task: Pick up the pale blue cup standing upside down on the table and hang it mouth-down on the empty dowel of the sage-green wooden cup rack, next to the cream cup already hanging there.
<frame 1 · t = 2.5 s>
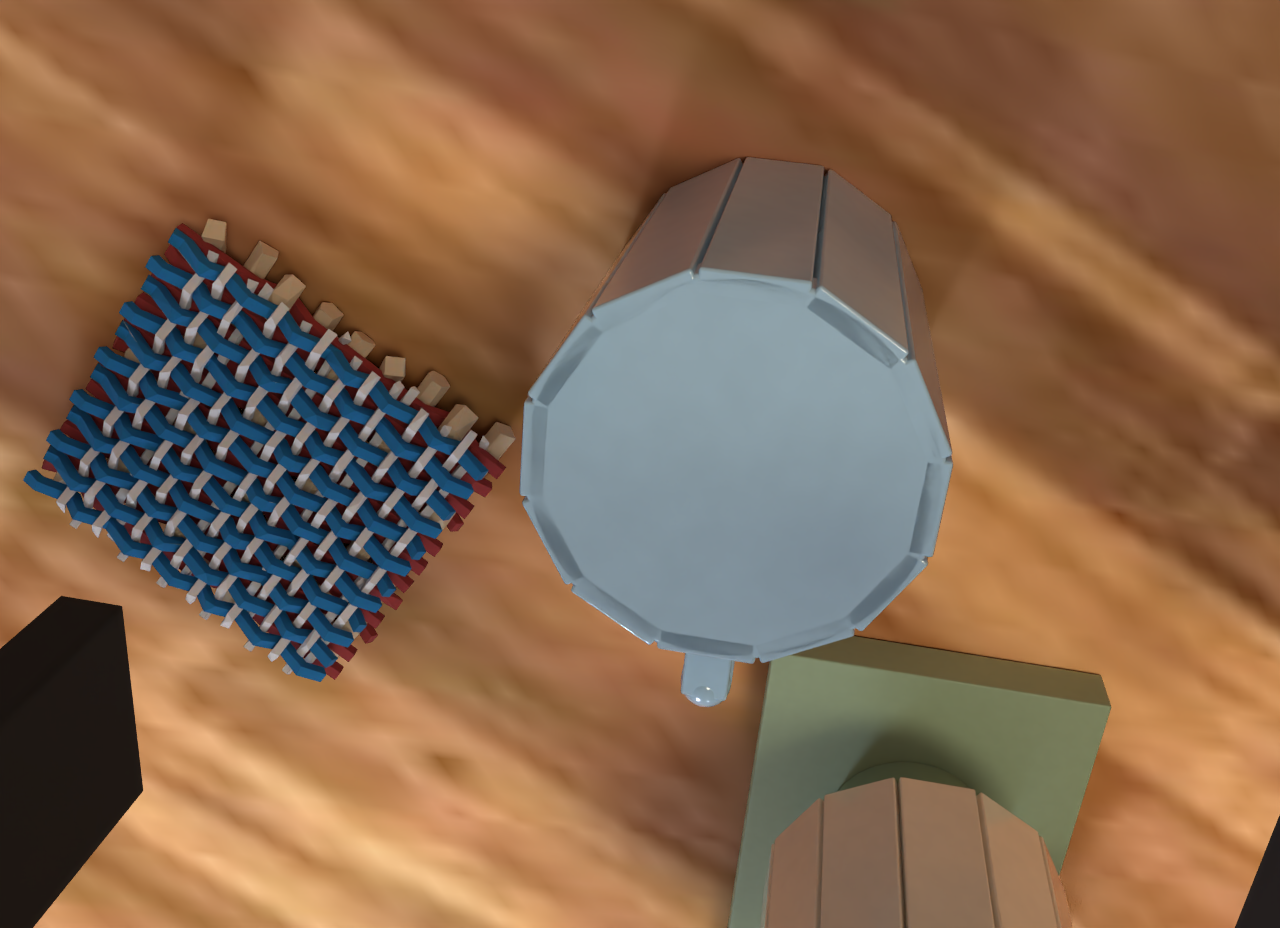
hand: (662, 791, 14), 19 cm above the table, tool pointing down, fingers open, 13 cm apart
woven mat: (285, 450, 35), on the table
cream cup: (910, 895, 32), point 4 cm above the table, touching cup rack
blue cup: (764, 312, 31), on the table
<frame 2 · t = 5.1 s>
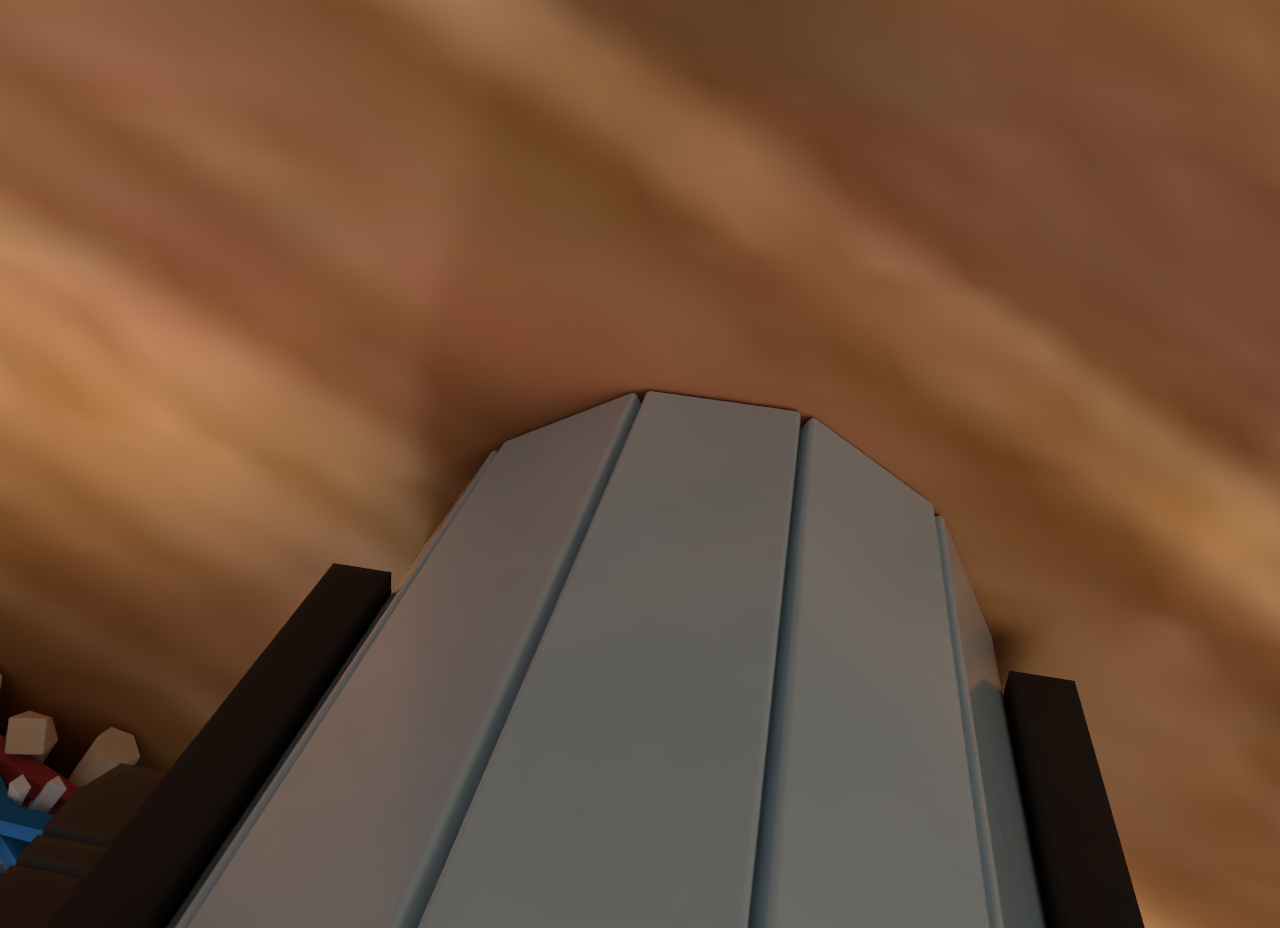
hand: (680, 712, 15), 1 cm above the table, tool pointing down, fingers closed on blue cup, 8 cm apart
blue cup: (691, 660, 16), on the table, touching gripper
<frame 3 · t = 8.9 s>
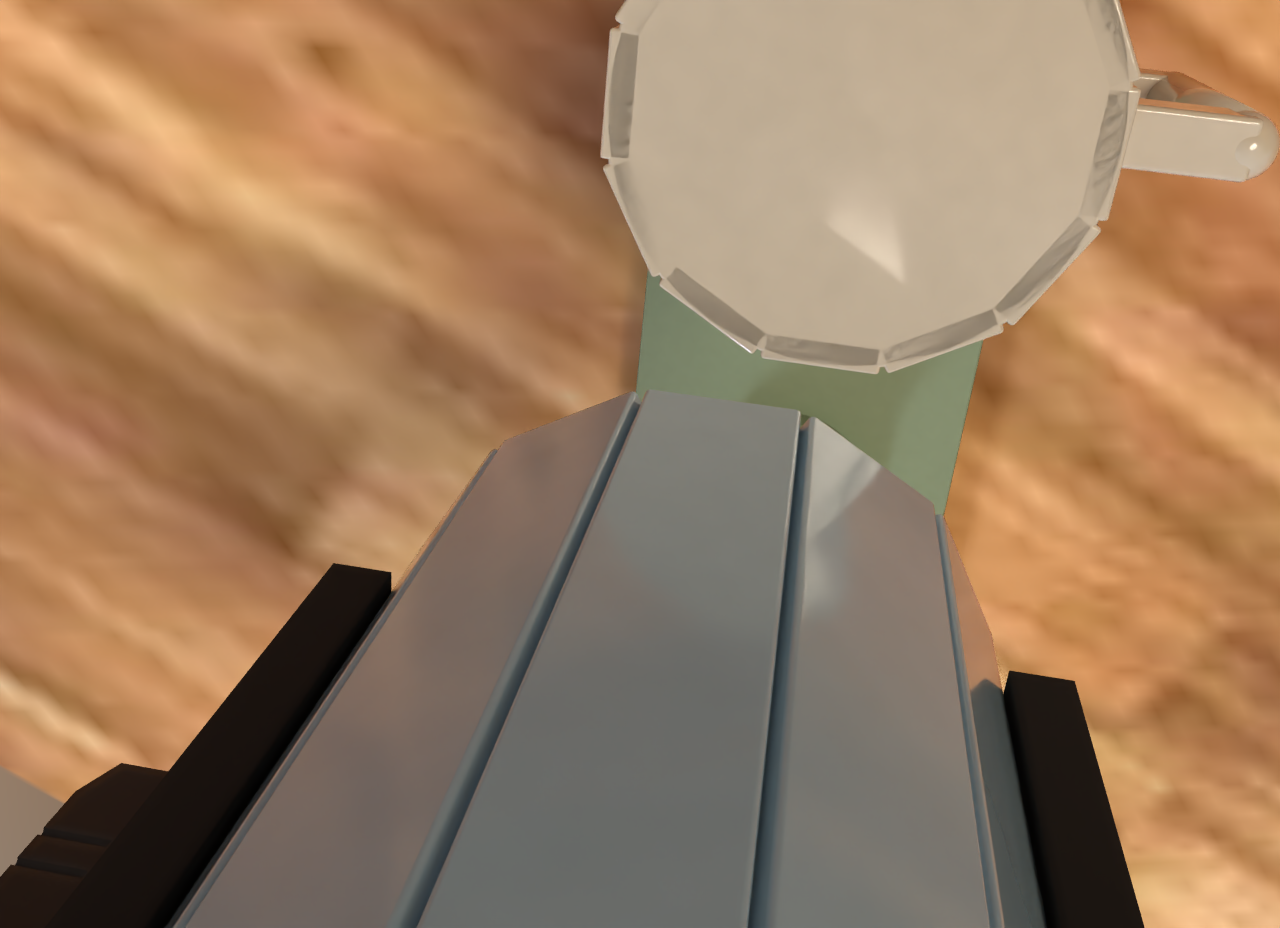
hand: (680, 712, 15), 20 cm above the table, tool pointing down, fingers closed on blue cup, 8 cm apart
cream cup: (856, 51, 27), point 4 cm above the table, touching cup rack
cup rack: (819, 264, 33), on the table
blue cup: (691, 659, 16), point 19 cm above the table, touching gripper
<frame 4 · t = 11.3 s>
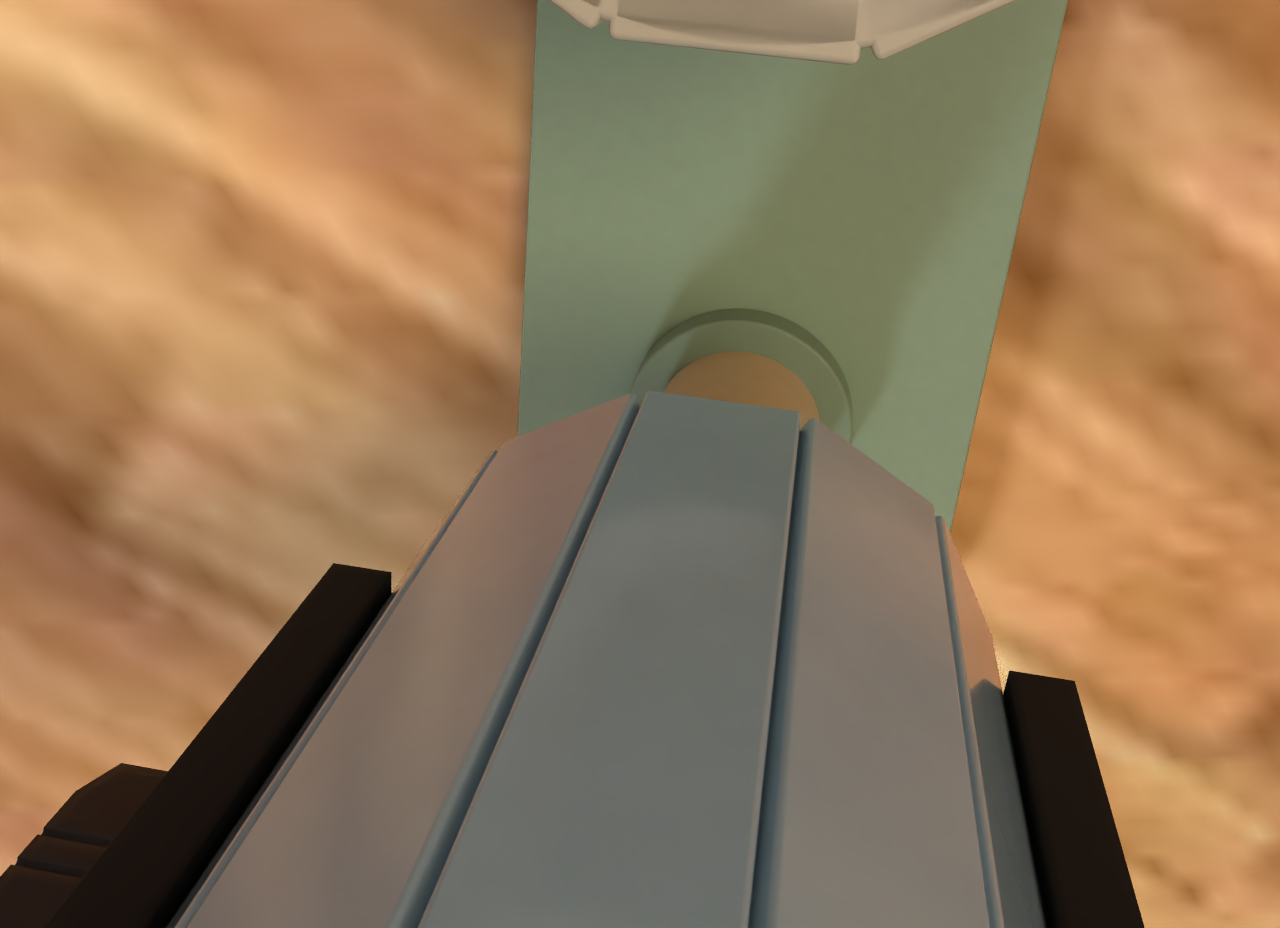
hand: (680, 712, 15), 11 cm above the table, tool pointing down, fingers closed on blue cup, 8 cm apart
cup rack: (784, 92, 23), on the table
blue cup: (691, 660, 16), point 10 cm above the table, touching gripper
when the fingers open (5 cm above the table, at t = 13.1 s): blue cup stays where it is, resting on cup rack.
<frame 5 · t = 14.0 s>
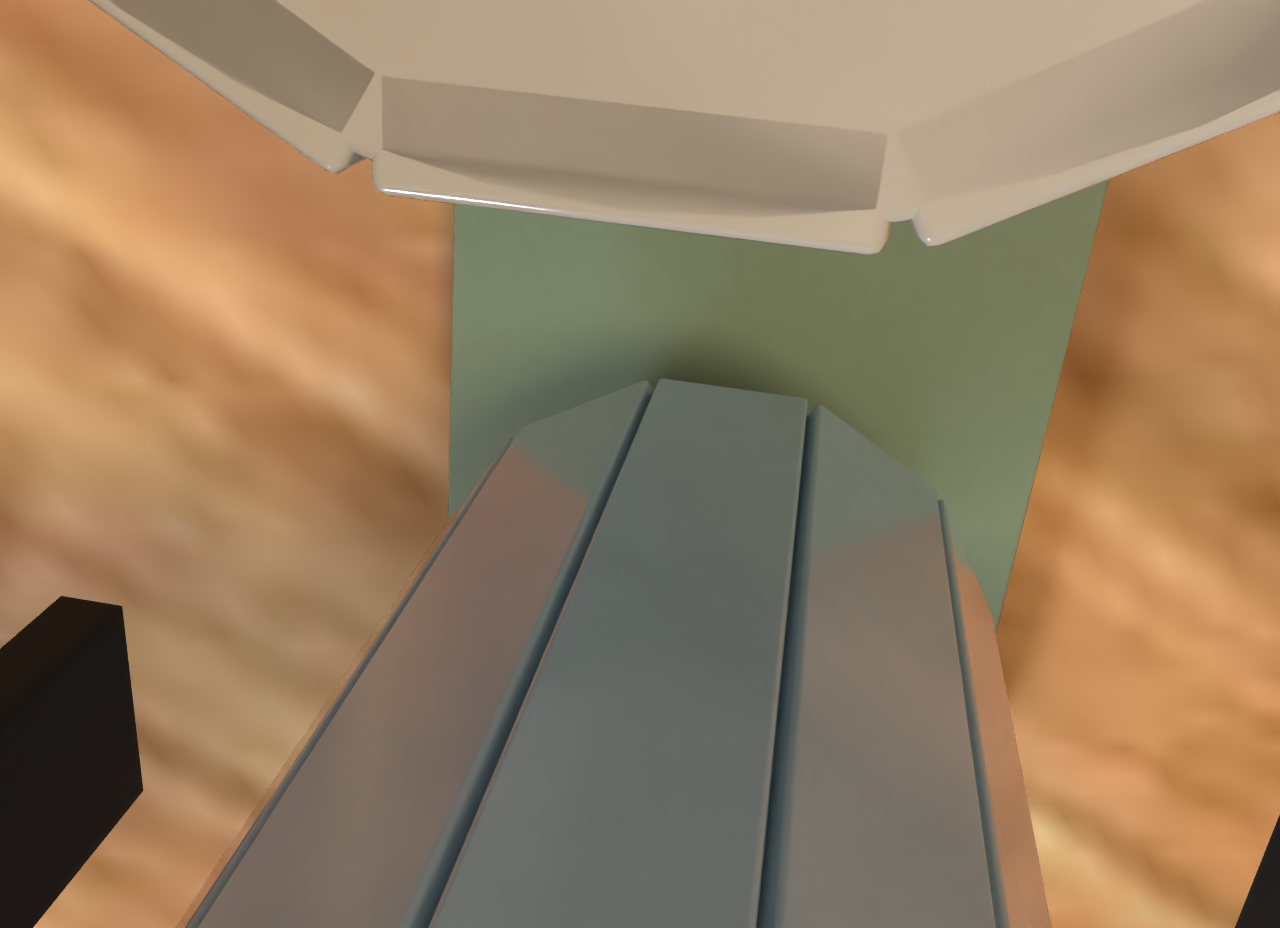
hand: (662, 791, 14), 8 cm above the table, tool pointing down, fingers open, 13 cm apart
cup rack: (775, 148, 18), on the table
blue cup: (701, 640, 17), point 4 cm above the table, touching cup rack
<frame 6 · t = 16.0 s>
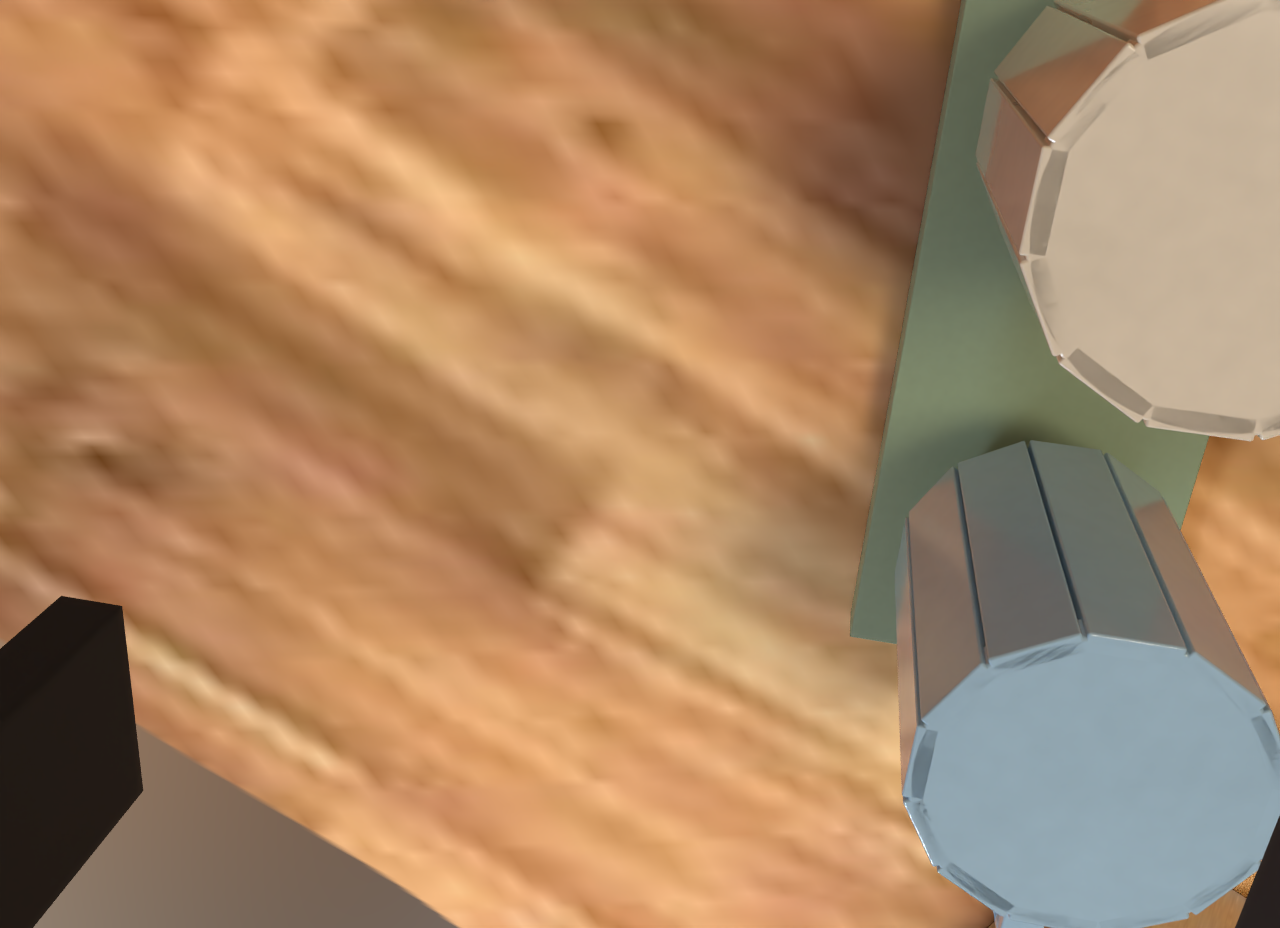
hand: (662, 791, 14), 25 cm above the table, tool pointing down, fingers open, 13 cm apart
cream cup: (1141, 135, 29), point 4 cm above the table, touching cup rack
cup rack: (1061, 319, 36), on the table
blue cup: (1034, 566, 34), point 4 cm above the table, touching cup rack
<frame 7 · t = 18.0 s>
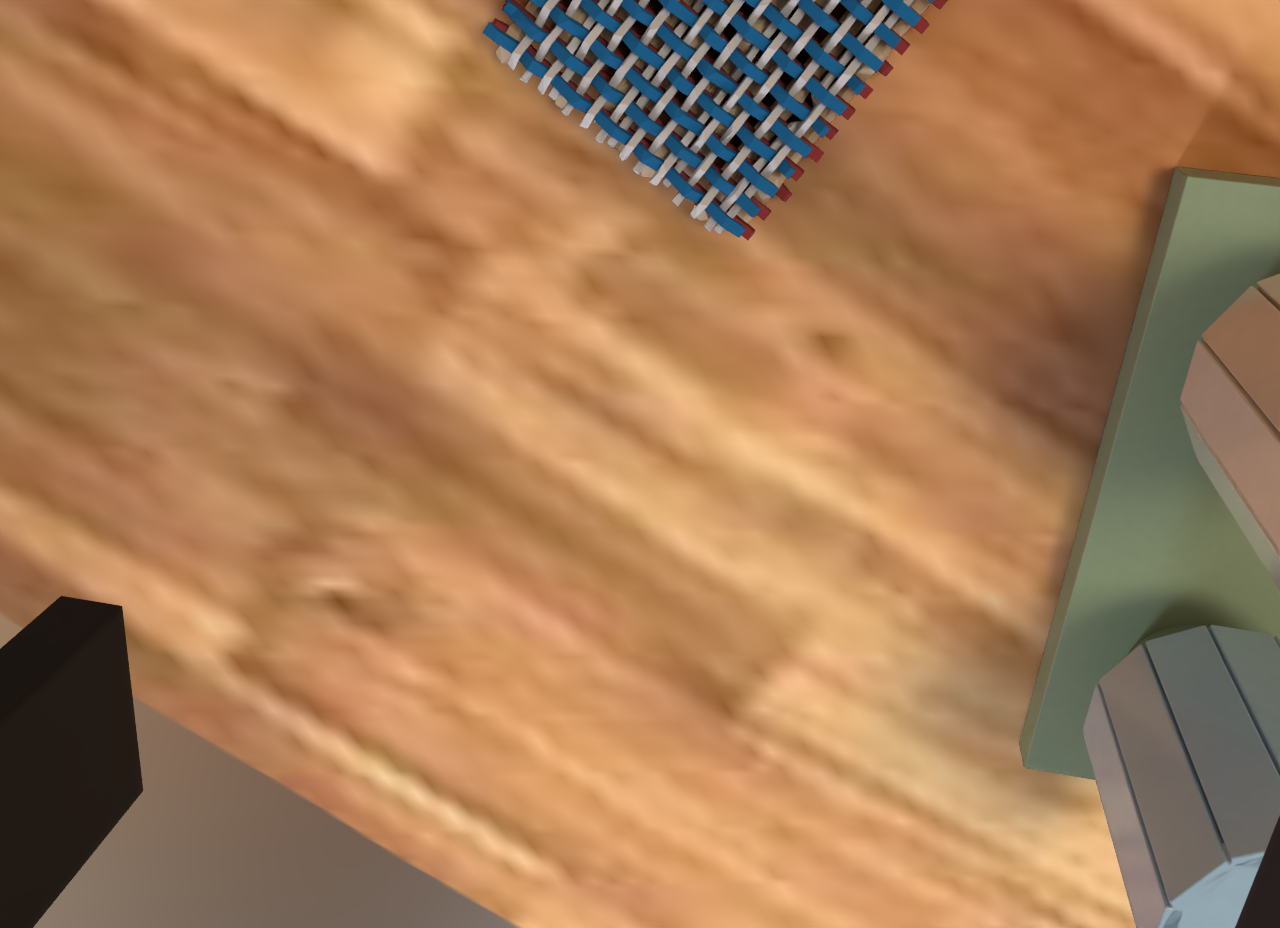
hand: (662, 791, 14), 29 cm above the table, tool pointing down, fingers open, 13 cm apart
woven mat: (716, 12, 38), on the table
cup rack: (1223, 506, 41), on the table
blue cup: (1206, 725, 40), point 4 cm above the table, touching cup rack
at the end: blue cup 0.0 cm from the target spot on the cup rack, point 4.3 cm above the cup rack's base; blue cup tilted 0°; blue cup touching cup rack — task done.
